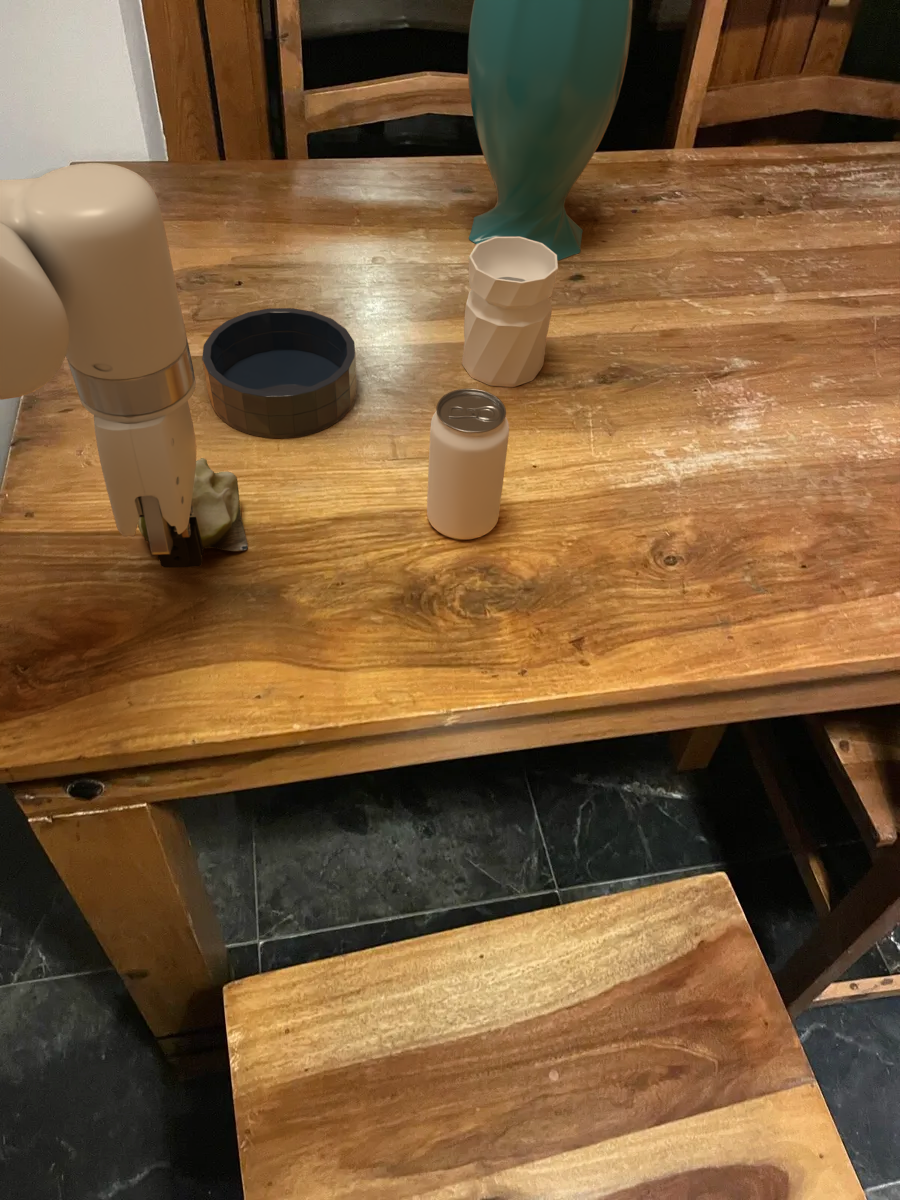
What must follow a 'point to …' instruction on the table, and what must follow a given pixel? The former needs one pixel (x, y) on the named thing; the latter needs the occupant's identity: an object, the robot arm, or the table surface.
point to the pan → (280, 372)
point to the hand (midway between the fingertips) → (183, 559)
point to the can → (466, 463)
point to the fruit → (214, 509)
